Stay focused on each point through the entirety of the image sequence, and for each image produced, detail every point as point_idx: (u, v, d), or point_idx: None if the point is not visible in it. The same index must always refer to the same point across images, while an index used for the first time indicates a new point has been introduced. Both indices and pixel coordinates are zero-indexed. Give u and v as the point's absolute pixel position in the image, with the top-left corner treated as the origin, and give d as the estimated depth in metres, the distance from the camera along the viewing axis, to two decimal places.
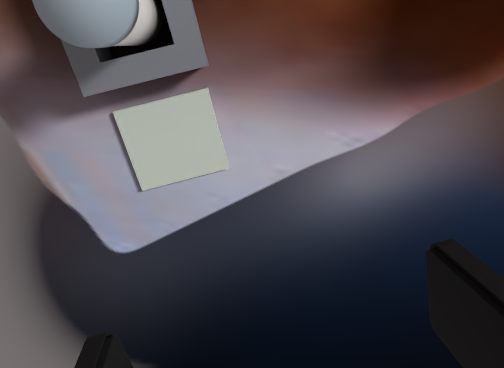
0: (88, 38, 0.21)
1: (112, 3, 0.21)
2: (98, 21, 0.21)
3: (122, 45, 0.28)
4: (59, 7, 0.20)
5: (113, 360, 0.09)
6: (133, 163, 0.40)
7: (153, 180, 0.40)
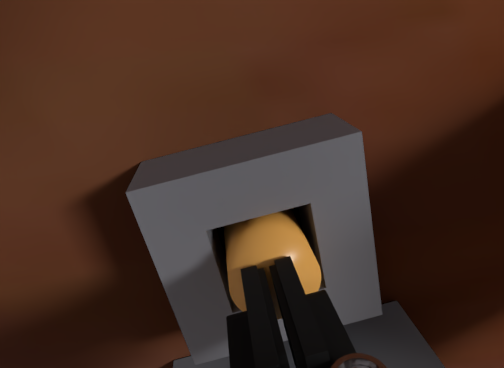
0: None
1: None
2: None
3: None
4: None
5: None
6: None
7: None
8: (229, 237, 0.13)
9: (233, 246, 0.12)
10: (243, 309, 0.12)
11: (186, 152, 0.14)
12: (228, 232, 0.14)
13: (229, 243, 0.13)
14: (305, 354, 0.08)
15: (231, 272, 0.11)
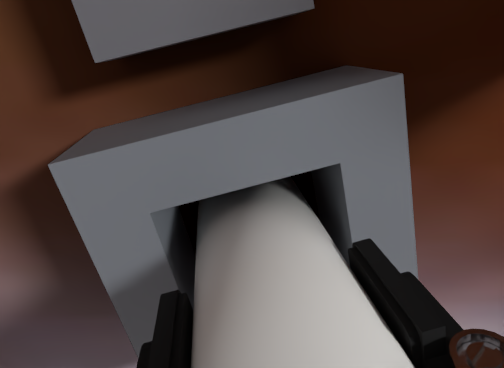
0: None
1: None
2: None
3: None
4: None
5: (187, 313, 0.11)
6: None
7: None
8: None
9: None
10: None
11: None
12: None
13: None
14: (421, 329, 0.08)
15: None
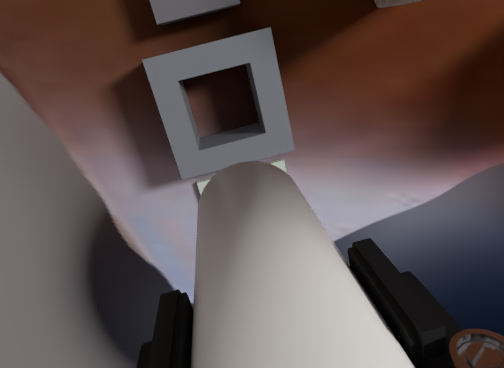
0: None
1: None
2: None
3: None
4: None
5: (187, 313, 0.11)
6: None
7: None
8: None
9: None
10: None
11: None
12: None
13: None
14: (421, 329, 0.08)
15: None
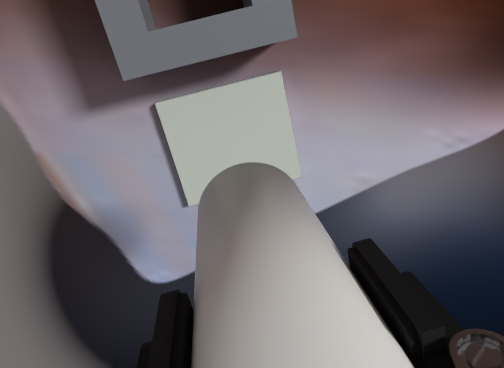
0: None
1: None
2: None
3: None
4: None
5: (187, 313, 0.11)
6: (179, 171, 0.30)
7: None
8: None
9: None
10: None
11: None
12: None
13: None
14: (421, 329, 0.08)
15: None
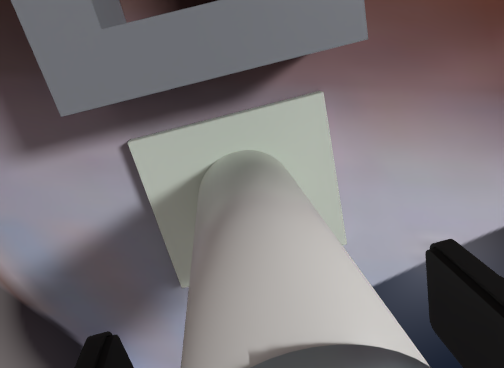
0: None
1: None
2: None
3: None
4: None
5: (113, 360, 0.10)
6: (166, 240, 0.20)
7: None
8: None
9: None
10: None
11: None
12: None
13: None
14: None
15: None
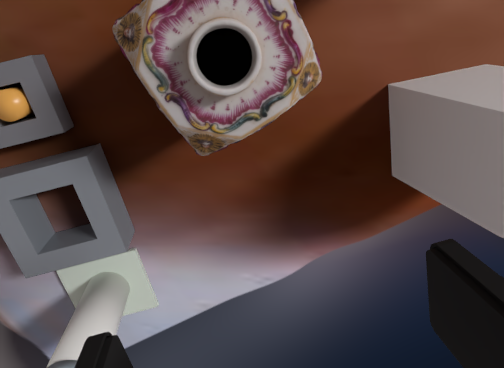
0: None
1: None
2: None
3: None
4: None
5: (113, 360, 0.09)
6: (75, 306, 0.47)
7: None
8: None
9: None
10: None
11: None
12: None
13: None
14: None
15: None
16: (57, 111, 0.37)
